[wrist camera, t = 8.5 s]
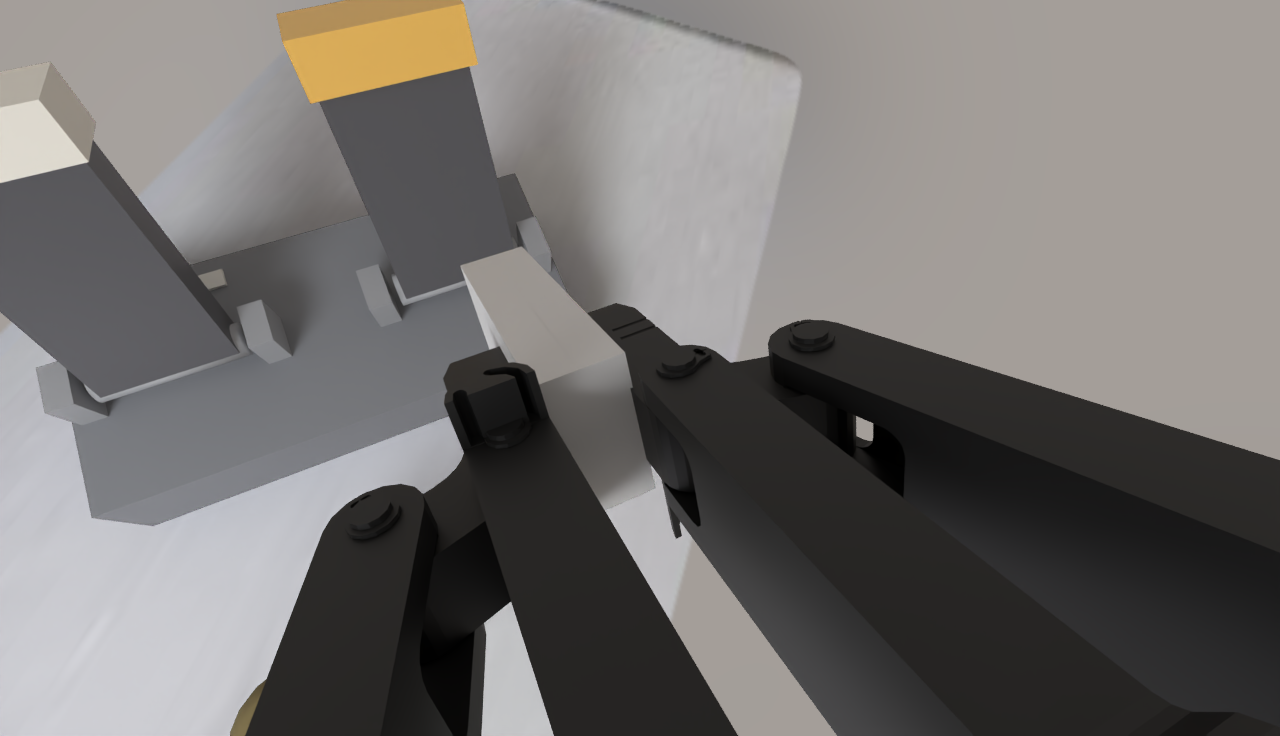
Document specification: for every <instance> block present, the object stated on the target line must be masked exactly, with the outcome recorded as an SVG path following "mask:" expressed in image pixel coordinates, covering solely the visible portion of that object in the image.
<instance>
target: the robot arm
mask: <svg viewBox="0 0 1280 736" xmlns="http://www.w3.org/2000/svg"><path fill="white" fill-rule="evenodd" d="M460 267H461V270H462V272H463V275H464V278H465V281H466V284H467V287H468V290H469V292H470V295H471V298H472V301H473V304H474V307H475V310H476V312H477V315H478V318H479V321H480V324H481V327H482V330H483V332H484V335H485V338H486V341H487V344H488V347H489V350H487V351H484V352H481V353H479V354H476V355H473V356H470V357H467V358H464V359H461V360H459V361H456V362H453V363H450V364H449V367H448V369H447V371H446V373H445V375H444V377H443V380H444V383H445V387H446V390H447V393H446V394H445V399H444V405H445V408H446V410H447V413H448V415H449V418H450V420H451V422H452V425H453V427H454V430H455V432H456V434H457V437H458V439H459V442H460V444H461V447H462V449H463V452H464V454H463V457H462V460H461V462H460V463H459V465H458V466H457V468H456V469H455V470H454V471H453V472H452V473H451V474H450V475H449V476H448V477H447V478H446V479H445V480H443V481H442V482H441V483H439V484H438V485H437V486H435V487H434V488H432V489H431V490H429V491H427V492H426V493H424V494H422V493H421V492H420V491H419V490H418V489H417V488H415V487H413V486H408V485H403V484H398V485H390V486H383V487H380V488H377V489H375V490H372V491H369V492H366V493H364V494H362V495H360V496H358V497H357V498H355V499H353V500H352V501H350V502H349V503H348V504H346V505H345V506H344V507H343V508H342V509H341V510H339V511H338V512H337V513H336V514H335V515H334V516H333V517H332V518H331V520H330V521H329V523H328V524H327V526H326V528H325V529H324V531H323V533H322V535H321V538H320V541H319V543H318V546H317V548H316V551H315V554H314V556H313V559H312V562H311V564H310V567H309V569H308V572H307V575H306V577H305V580H304V583H303V585H302V588H301V590H300V593H299V596H298V598H297V601H296V603H295V606H294V609H293V611H292V614H291V617H290V619H289V622H288V624H287V627H286V630H285V632H284V635H283V638H282V640H281V643H280V645H279V648H278V651H277V653H276V656H275V659H274V661H273V664H272V666H271V669H270V672H269V674H268V677H267V680H266V682H265V685H264V687H263V690H262V693H261V695H260V698H259V700H258V703H257V706H256V708H255V711H254V714H253V716H252V719H251V721H250V724H249V727H248V729H247V732H246V735H245V736H481V730H482V710H483V690H484V670H485V649H486V631H485V626H484V622H486V621H487V620H488V619H489V618H491V617H492V616H493V615H494V614H496V613H497V612H498V611H499V610H501V609H502V608H503V607H504V606H506V605H507V604H508V603H509V602H512V605H513V608H514V612H515V615H516V618H517V621H518V624H519V627H520V630H521V633H522V637H523V640H524V643H525V646H526V649H527V652H528V655H529V659H530V662H531V665H532V668H533V671H534V674H535V677H536V681H537V684H538V687H539V690H540V693H541V696H542V699H543V703H544V706H545V709H546V712H547V715H548V718H549V721H550V724H551V728H552V731H553V734H554V736H738V735H737V733H736V732H735V730H734V728H733V727H732V725H731V723H730V722H729V720H728V718H727V717H726V715H725V713H724V711H723V710H722V708H721V707H720V705H719V703H718V701H717V700H716V698H715V696H714V694H713V693H712V691H711V689H710V688H709V686H708V684H707V683H706V681H705V679H704V677H703V676H702V674H701V672H700V671H699V669H698V667H697V666H696V664H695V662H694V661H693V659H692V657H691V656H690V654H689V652H688V650H687V649H686V647H685V645H684V644H683V642H682V640H681V639H680V637H679V635H678V634H677V632H676V630H675V629H674V627H673V625H672V623H671V622H670V620H669V618H668V617H667V615H666V613H665V612H664V610H663V608H662V606H661V605H660V603H659V601H658V600H657V598H656V596H655V595H654V593H653V591H652V590H651V588H650V586H649V585H648V583H647V581H646V579H645V578H644V576H643V574H642V573H641V571H640V569H639V568H638V566H637V564H636V563H635V561H634V559H633V557H632V556H631V554H630V552H629V551H628V549H627V547H626V546H625V544H624V542H623V541H622V539H621V537H620V536H619V534H618V532H617V530H616V529H615V527H614V525H613V524H612V522H611V520H610V519H609V517H608V515H607V514H606V512H605V510H607V509H610V508H612V507H614V506H616V505H619V504H621V503H623V502H625V501H628V500H630V499H632V498H634V497H637V496H639V495H641V494H643V493H646V492H648V491H650V490H652V489H655V484H654V479H653V475H652V470H651V466H650V464H651V465H652V467H653V468H654V469H655V471H656V472H657V473H658V475H659V476H660V477H661V479H662V483H663V488H664V492H665V497H666V502H667V506H668V511H669V516H670V520H671V525H672V529H673V532H674V535H675V537H676V538H678V537H681V536H682V534H681V530H680V525H679V524H680V521H681V523H682V524H683V526H684V527H685V528H686V530H687V531H688V532H689V534H690V535H691V536H692V538H693V539H694V541H695V542H696V543H697V545H698V546H699V547H700V549H701V550H702V551H703V553H704V554H705V556H706V557H707V558H708V560H709V561H710V562H711V564H712V565H713V567H714V568H715V569H716V571H717V572H718V573H719V575H720V576H721V577H722V579H723V580H724V582H725V583H726V584H727V586H728V587H729V588H730V589H731V591H732V592H733V594H734V595H735V597H736V598H737V599H738V601H739V602H740V603H741V605H742V606H743V607H744V609H745V610H746V612H747V613H748V614H749V615H750V617H751V618H752V620H753V621H754V623H755V624H756V625H757V626H758V628H759V629H760V631H761V632H762V633H763V635H764V636H765V637H766V639H767V640H768V642H769V643H770V644H771V646H772V647H773V648H774V650H775V651H776V653H777V654H778V655H779V657H780V658H781V659H782V661H783V662H784V664H785V665H786V666H787V667H788V669H789V670H790V672H791V673H792V674H793V676H794V677H795V678H796V680H797V681H798V682H799V684H800V685H801V687H802V688H803V689H804V691H805V692H806V694H807V695H808V696H809V698H810V699H811V700H812V702H813V703H814V704H815V706H816V707H817V709H818V710H819V711H820V713H821V714H822V715H823V717H824V718H825V719H826V721H827V722H828V724H829V725H830V726H831V728H832V729H833V730H834V732H835V733H836V734H837V736H1280V460H1277V459H1274V458H1271V457H1267V456H1264V455H1261V454H1258V453H1254V452H1251V451H1248V450H1245V449H1241V448H1238V447H1235V446H1232V445H1229V444H1226V443H1222V442H1219V441H1216V440H1212V439H1209V438H1206V437H1203V436H1200V435H1197V434H1193V433H1190V432H1187V431H1183V430H1180V429H1177V428H1174V427H1170V426H1167V425H1164V424H1161V423H1158V422H1155V421H1151V420H1148V419H1145V418H1142V417H1138V416H1135V415H1132V414H1129V413H1126V412H1122V411H1119V410H1116V409H1113V408H1110V407H1106V406H1103V405H1100V404H1097V403H1093V402H1090V401H1087V400H1084V399H1081V398H1078V397H1074V396H1071V395H1068V394H1065V393H1061V392H1058V391H1055V390H1052V389H1049V388H1045V387H1042V386H1039V385H1035V384H1032V383H1029V382H1026V381H1023V380H1020V379H1016V378H1013V377H1010V376H1007V375H1003V374H1000V373H997V372H993V371H990V370H987V369H984V368H981V367H978V366H974V365H971V364H968V363H965V362H962V361H958V360H955V359H952V358H949V357H946V356H942V355H939V354H936V353H933V352H929V351H926V350H923V349H920V348H916V347H913V346H910V345H907V344H904V343H901V342H897V341H894V340H891V339H888V338H885V337H881V336H878V335H875V334H871V333H868V332H865V331H862V330H859V329H855V328H852V327H849V326H846V325H843V324H839V323H835V322H830V321H824V320H802V321H801V322H799V321H797V322H794V323H791V324H789V325H786V326H784V327H782V328H780V329H778V330H777V331H776V332H775V333H773V334H772V335H771V336H770V339H769V342H768V349H769V356H767V357H763V358H757V359H752V360H747V361H740V362H732V363H730V362H729V361H727V360H726V359H725V358H723V357H722V356H721V355H720V354H718V353H717V352H716V351H713V350H711V349H709V348H707V347H704V346H697V345H683V346H679V345H678V344H677V343H676V342H675V341H673V340H672V339H671V338H670V337H669V336H667V335H666V334H665V333H664V332H663V331H662V330H660V329H659V328H658V327H655V325H654V324H653V323H652V322H651V321H650V320H648V319H646V317H645V316H644V315H642V314H641V313H640V312H639V311H638V310H637V309H635V308H633V307H629V306H625V305H621V304H617V303H615V304H612V305H610V306H607V307H604V308H601V309H598V310H595V311H592V312H590V313H586V312H585V311H584V310H583V309H582V308H581V307H580V306H579V305H578V304H577V303H576V302H575V301H574V300H573V299H572V298H571V296H570V295H569V294H568V293H567V292H566V291H565V290H564V289H563V288H562V287H561V286H560V285H559V284H558V283H557V282H556V281H555V280H554V279H553V278H552V277H551V276H550V275H549V274H548V273H547V272H546V271H545V270H544V269H543V268H542V267H541V266H540V265H539V264H538V263H537V262H536V261H535V260H534V259H533V258H532V257H531V255H530V254H529V253H528V252H527V251H526V250H525V249H524V248H523V247H518V248H515V249H512V250H509V251H505V252H502V253H499V254H496V255H493V256H489V257H486V258H483V259H480V260H477V261H473V262H470V263H467V264H464V265H461V266H460ZM856 416H858V417H860V418H863V419H865V420H867V421H869V422H872V423H873V441H867V440H863V439H861V438H859V437H857V436H856Z"/></svg>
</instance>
